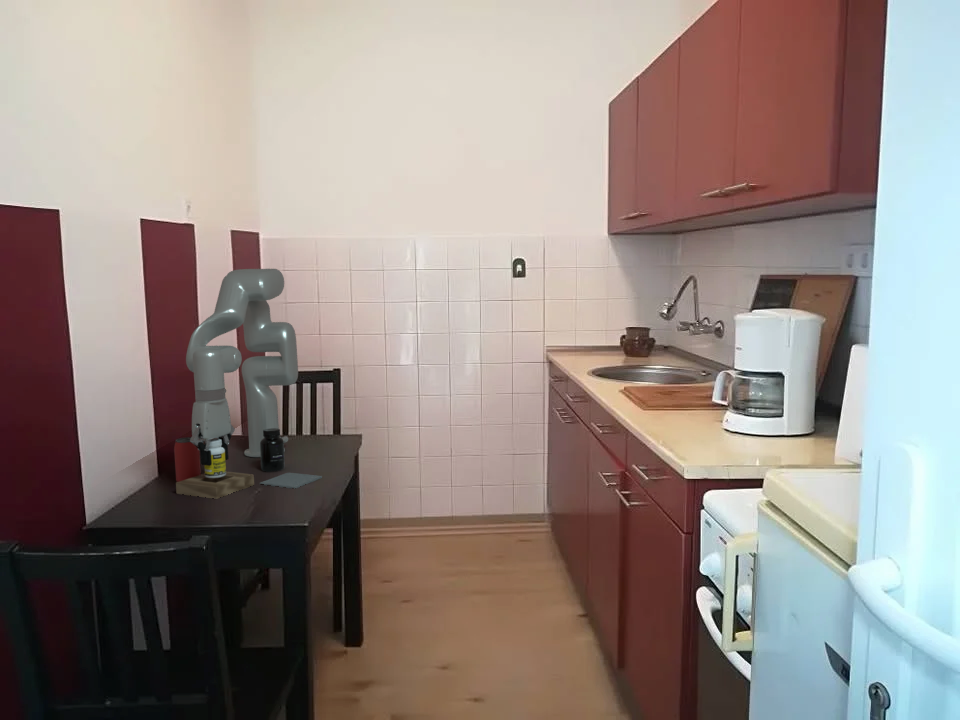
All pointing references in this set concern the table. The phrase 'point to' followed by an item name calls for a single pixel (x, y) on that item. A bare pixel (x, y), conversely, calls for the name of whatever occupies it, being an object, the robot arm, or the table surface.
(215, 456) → the supplement bottle
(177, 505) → the table surface
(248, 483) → the holder
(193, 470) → the beer can
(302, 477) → the mat
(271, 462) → the supplement bottle
